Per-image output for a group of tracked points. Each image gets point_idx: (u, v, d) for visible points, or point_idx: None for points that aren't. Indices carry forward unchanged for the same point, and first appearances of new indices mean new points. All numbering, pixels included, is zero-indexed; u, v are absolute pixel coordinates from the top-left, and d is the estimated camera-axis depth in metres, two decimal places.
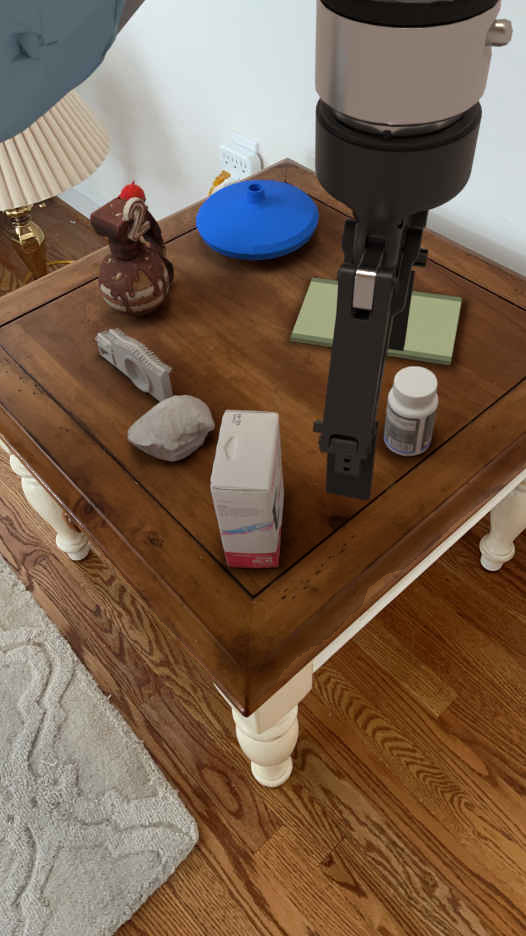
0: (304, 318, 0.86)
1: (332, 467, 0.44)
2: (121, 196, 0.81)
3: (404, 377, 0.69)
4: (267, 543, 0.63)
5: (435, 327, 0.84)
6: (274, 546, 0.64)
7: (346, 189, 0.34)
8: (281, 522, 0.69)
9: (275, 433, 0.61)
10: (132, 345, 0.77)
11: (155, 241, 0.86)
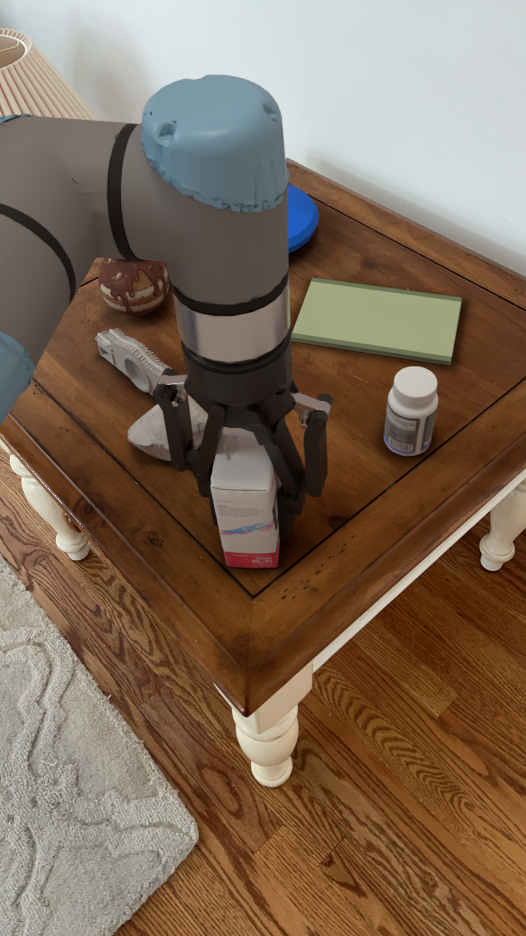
0: (304, 318, 0.86)
1: (288, 521, 0.65)
2: None
3: (404, 377, 0.69)
4: (267, 543, 0.63)
5: (435, 327, 0.84)
6: (273, 546, 0.64)
7: (278, 382, 0.51)
8: None
9: None
10: (132, 345, 0.77)
11: None
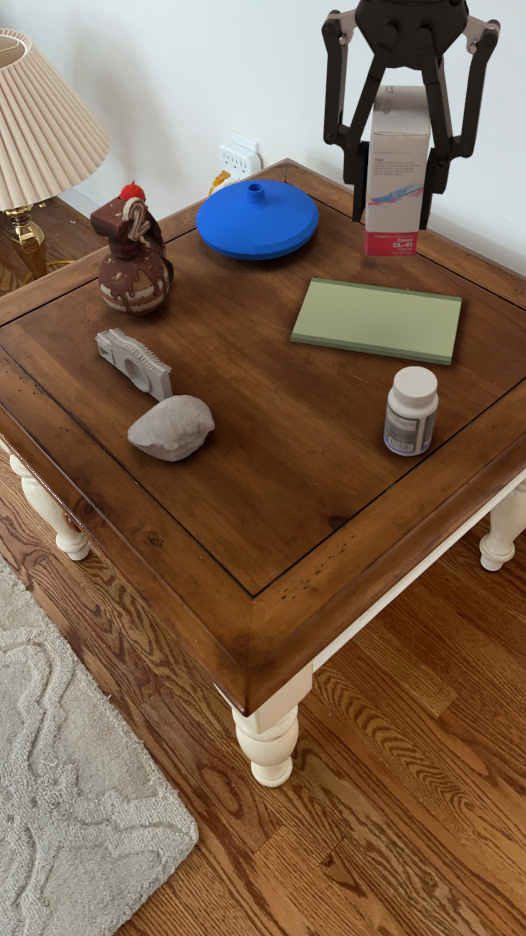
0: (304, 318, 0.86)
1: (430, 202, 0.67)
2: (121, 196, 0.81)
3: (404, 377, 0.69)
4: (412, 217, 0.65)
5: (435, 327, 0.84)
6: (418, 222, 0.66)
7: None
8: None
9: None
10: (132, 345, 0.77)
11: (155, 241, 0.86)
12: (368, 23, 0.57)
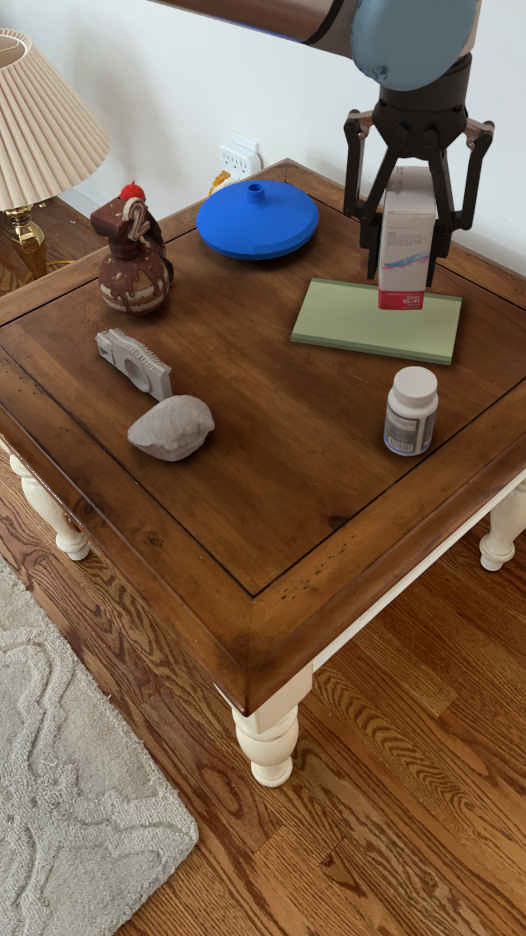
0: (304, 318, 0.86)
1: (434, 265, 0.77)
2: (121, 196, 0.81)
3: (404, 377, 0.69)
4: (420, 279, 0.76)
5: (435, 327, 0.84)
6: (425, 283, 0.76)
7: (461, 95, 0.63)
8: None
9: None
10: (132, 345, 0.77)
11: (155, 241, 0.86)
12: (383, 123, 0.67)
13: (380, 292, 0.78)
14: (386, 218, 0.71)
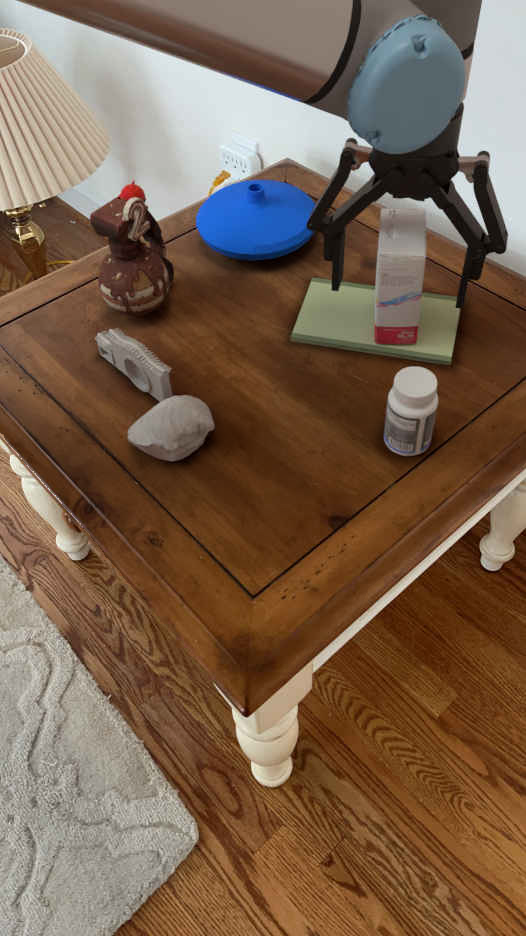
0: (304, 318, 0.86)
1: (466, 286, 0.78)
2: (121, 196, 0.81)
3: (404, 377, 0.69)
4: (413, 315, 0.79)
5: (435, 327, 0.84)
6: (418, 319, 0.80)
7: (453, 142, 0.66)
8: None
9: (425, 222, 0.77)
10: (132, 345, 0.77)
11: (155, 241, 0.86)
12: (378, 165, 0.70)
13: (376, 328, 0.81)
14: (379, 261, 0.75)
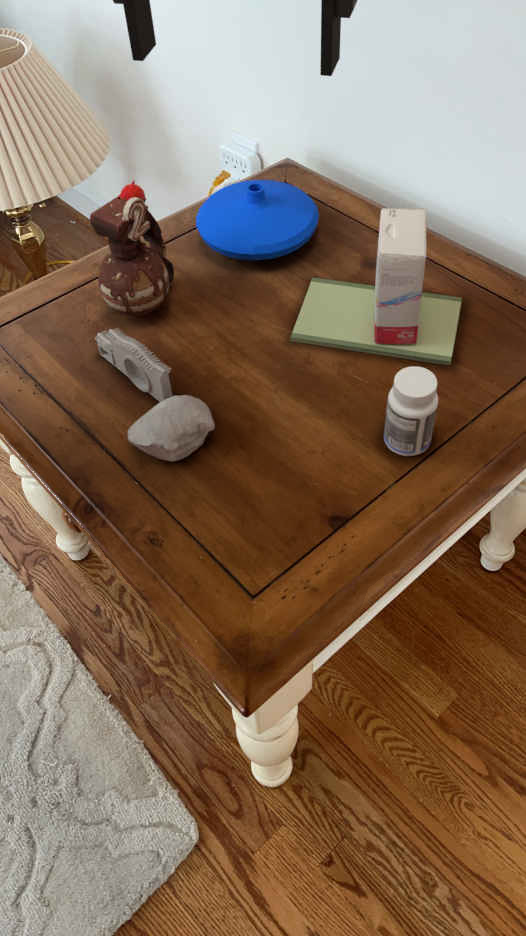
0: (304, 318, 0.86)
1: (333, 31, 0.48)
2: (121, 196, 0.81)
3: (404, 377, 0.69)
4: (413, 315, 0.79)
5: (435, 327, 0.84)
6: (418, 319, 0.80)
7: None
8: None
9: (425, 222, 0.77)
10: (132, 345, 0.77)
11: (155, 241, 0.86)
12: None
13: (376, 328, 0.81)
14: (379, 261, 0.75)
